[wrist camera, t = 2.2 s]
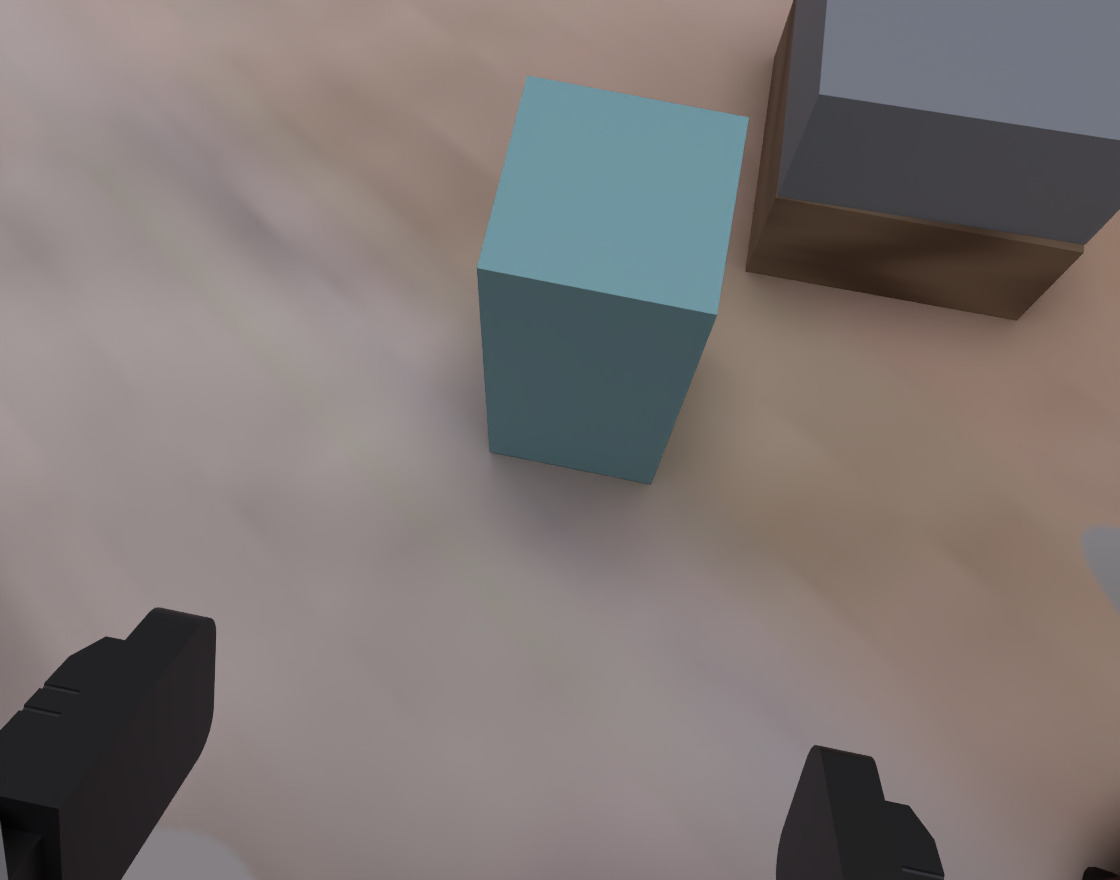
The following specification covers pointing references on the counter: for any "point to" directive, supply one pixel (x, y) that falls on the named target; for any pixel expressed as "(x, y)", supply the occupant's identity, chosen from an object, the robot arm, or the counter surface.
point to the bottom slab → (890, 240)
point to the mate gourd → (1099, 874)
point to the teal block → (602, 273)
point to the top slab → (958, 112)
